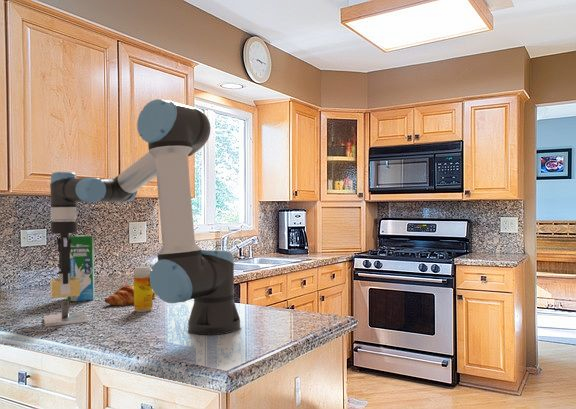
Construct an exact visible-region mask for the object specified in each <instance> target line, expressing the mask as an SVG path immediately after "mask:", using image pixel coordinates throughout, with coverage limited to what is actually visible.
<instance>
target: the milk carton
mask: <svg viewBox="0 0 576 409" xmlns="http://www.w3.org/2000/svg"><path fill="white" fill-rule="evenodd" d="M93 237H94V236H92V235H87V236H86V235H80V234H79V235H75V236H69V238H71V251H70V269H71V271H70V278H73V277H78V279H79V280H80V296H70V297H67V301H75V302H85V301H87V300H89V301H94V299H95V293H96V292H95V288H96V287H95V241H94V240H95V239H94V238H93ZM87 302H88V301H87Z"/></svg>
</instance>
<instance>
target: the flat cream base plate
mask: <svg viewBox="0 0 576 409" xmlns="http://www.w3.org/2000/svg"><path fill="white" fill-rule="evenodd" d="M60 304H61V313H56V314H48V315H43V324H44V328H46V327H55V326H64V325H65V326H66V325H72V324H73V325H74V324H81V323H82V324H83V323H88V317H87V315H86V313H85V311H75V312H74V311H73V312H70V302H69V301H68V300H63V301H61V303H60Z"/></svg>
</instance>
